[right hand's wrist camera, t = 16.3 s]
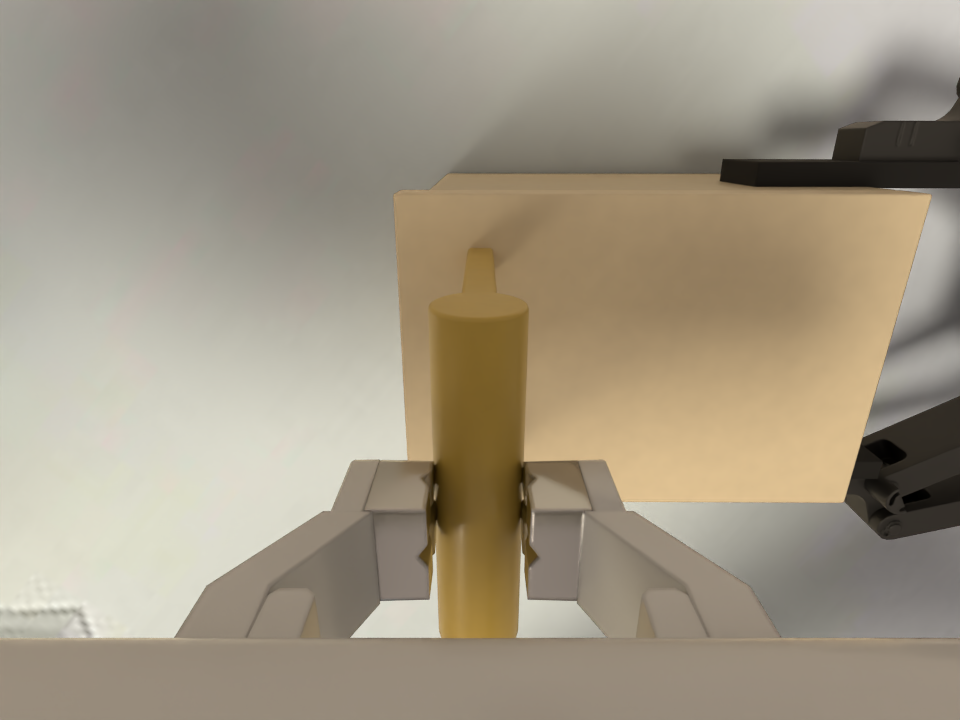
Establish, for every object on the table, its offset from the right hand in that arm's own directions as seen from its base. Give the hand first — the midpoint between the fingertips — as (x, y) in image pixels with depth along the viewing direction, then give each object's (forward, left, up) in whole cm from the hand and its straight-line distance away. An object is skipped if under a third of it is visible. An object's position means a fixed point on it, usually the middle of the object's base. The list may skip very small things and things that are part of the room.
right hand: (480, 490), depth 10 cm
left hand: (+6, +6, -10) cm, 13 cm away
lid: (+3, +4, -8) cm, 9 cm away
